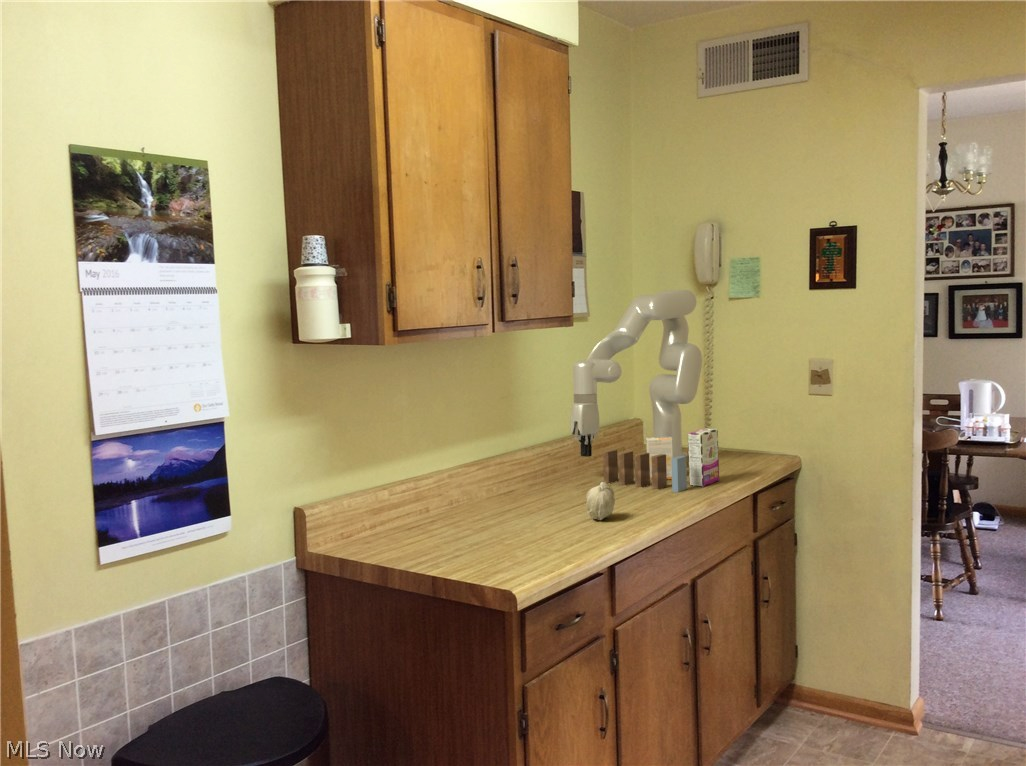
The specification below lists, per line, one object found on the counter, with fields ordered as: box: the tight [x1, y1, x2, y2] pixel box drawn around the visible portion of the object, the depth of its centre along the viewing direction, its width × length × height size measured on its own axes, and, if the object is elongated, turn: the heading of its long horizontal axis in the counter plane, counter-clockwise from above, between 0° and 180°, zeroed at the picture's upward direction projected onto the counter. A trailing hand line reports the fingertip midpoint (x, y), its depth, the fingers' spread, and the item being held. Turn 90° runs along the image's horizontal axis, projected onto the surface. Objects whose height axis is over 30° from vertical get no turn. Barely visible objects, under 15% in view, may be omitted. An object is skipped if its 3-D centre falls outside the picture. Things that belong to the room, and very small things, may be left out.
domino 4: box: [651, 454, 668, 490], centre depth 270 cm, size 2×5×10 cm, turn 138°
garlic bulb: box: [585, 481, 616, 521], centre depth 233 cm, size 10×8×10 cm
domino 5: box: [671, 456, 688, 493], centre depth 265 cm, size 2×5×10 cm, turn 138°
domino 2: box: [618, 450, 635, 486], centre depth 278 cm, size 2×5×10 cm, turn 138°
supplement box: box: [645, 437, 673, 480], centre depth 285 cm, size 8×5×13 cm, turn 84°
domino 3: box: [634, 451, 651, 488], centre depth 274 cm, size 2×5×10 cm, turn 138°
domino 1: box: [602, 449, 619, 484], centre depth 282 cm, size 2×5×10 cm, turn 138°
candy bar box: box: [687, 427, 720, 488], centre depth 274 cm, size 11×5×16 cm, turn 141°
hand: (586, 456), depth 287 cm, fingers closed
